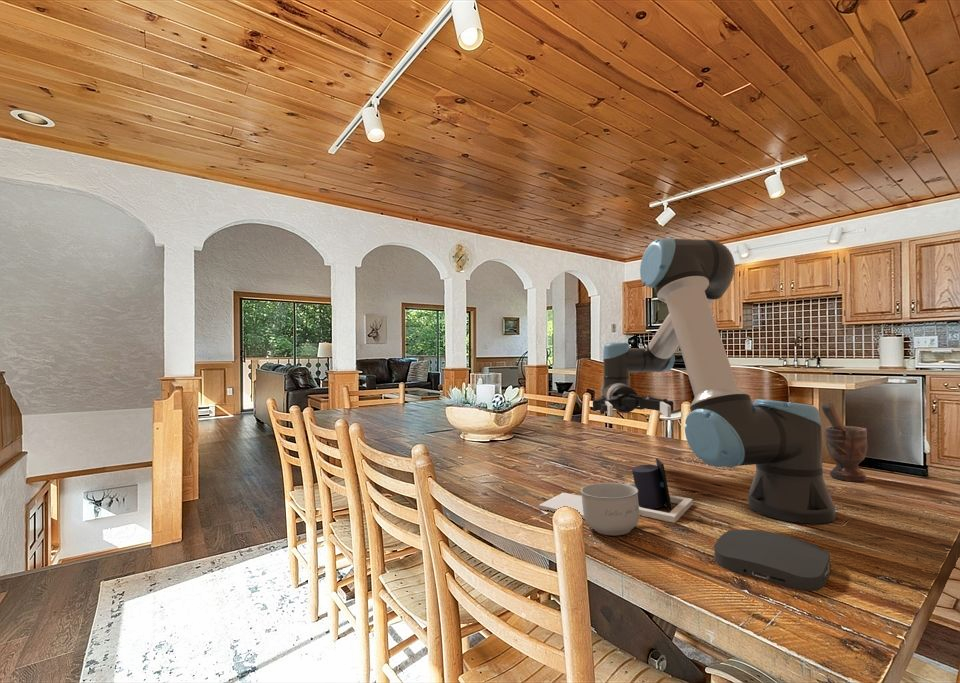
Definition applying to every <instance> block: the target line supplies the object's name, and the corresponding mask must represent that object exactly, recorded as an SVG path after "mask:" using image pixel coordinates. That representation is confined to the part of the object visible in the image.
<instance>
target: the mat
mask: <svg viewBox="0 0 960 683" xmlns="http://www.w3.org/2000/svg"><path fill="white" fill-rule="evenodd" d="M563 506H568V507H571V508H574V509H576V510H578V512H580V514H581V515H582V517H583V519H582V520H585V518H584V513H583V505H582V495H578V494H573V493H567V492H561V493H559V494H558V495H556V496H554V497H552V498H550V499H547V500H545V501H544V502H542V503H540V504H538V509H540V510H544V511H547V510H549V511H548V512H551V511H552V513H555V512H554V511H555V510H556V509H558V508H560V507H563ZM550 510H551V511H550Z"/></svg>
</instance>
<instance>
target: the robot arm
mask: <svg viewBox="0 0 960 683" xmlns="http://www.w3.org/2000/svg"><path fill="white" fill-rule="evenodd" d="M735 264H736V263H735V259H734V256H733V254H732V252H731V251H730V249H729V248H728V247H727V246H726V245H725V244H723V243H722V242H719V241H717V240H715V239H692V238H691V239H689V238H688V239H685V238H674V237H668V238H658V239H657V238H656V239H655V240H653V241H652V242H650V244H649V245H648V246H647V247H646V249H645V250H644V253H643V254H642V257H641V261H640V265H639V266H640V268H639V274H640V280H641V282H642V285H644V286H645V287H647V288H649V289H651V288H652V289H653V288H654V291H655V293H656V297H657V300H659V301H661V302H663V303H664V304H666V306H667V309H668V314H667V316H666V317H665V319H664V320H663V322H662V323H661V325H660V326H659V328H658V330H656V332H655V334H654V336H653V337H652V338H651V340H650V342H648V343H647V346H646V347H643V348H641V347H640V348H639V347H634V348H633V347H631V348H630V345H629V343H628V342H606V343H605V344H604V346H603V352H602V353H603V354H602V358H603V362H602V363H603V381H602V382H603V384H602V387H601V396H600V397H599V398H595V399H594V400H592V411H595V412H596V411H600V412H599V413H600V415H605V414H606V415H608V416H609V417H611V418H613V417H614V415H613V413H614V411H613V410H616V411H617V412H618V413H623V414H628V413H631V412H633V411H634V410H645V409H646V410H651V411H657V412H659V413H660V414H662V415H663V416H665V417H667V418H671V417H672V416H671V415H672V412H674V401H673V400H668V398H663V399H661V398H657V397H653V396H650V395H648V396H647V397H646V398H645V396H642V395H638V392H636V391H635V389H634V388H632V387H630V386H629V385H630V382H629V381H630V380H629V379H630V373H661V372H667V371H670V370H671V369H672V368H673V367H674V365H675V363H676V362H675V361H676V357H675V354H674V353H675V351H677V349H678V348H679V349H680V353H681V355H682V359H683V362H684V366H685V369H686V373H687V375H688V379H689V382H690V383H689V384H690V385H691V390H692V392H693V396H694V398H693V401H692V402H691V404H690V405H689V408H690V412H689V413H688V415H687V416H686V418H685V422H684V423H685V426H684V435H685V438H686V441H687V444H688V446H689V448H690V449H691V451H692V452H693V454H694V455H695V457H696V458H698V459H699V460H701V461H702V462H703V463H704V464H706V465H708V466H711V467H715V468H716V467H717V468H719V467H720V468H721V467H722V468H723V467H725V468H736V467H738V466H739V467H742V466H751V465H752V466H753V465H755V474H754V476H753V479H752V482H751V485H750V487H749V490H748V494H747V505H748V507H749V508H750V509H751V510H752V511H754V512H755V513H757V514H760V515H762V516H765V517H768V518H772V519H776V520H780V521H785V522H790V523H791V522H792V523H800V524H815V525H816V524H818V525H819V524H826V523H827V524H828V523H831V522H833V521H835V520H836V507H835V504H834V500H833V498H832V496H831V494H830V491H829V489H828V486H827V485H826V482H825V479H824V475H823V472H824V471H823V447H822V446H823V444H822V443H823V440H822V438H823V437H822V426H823V424H822V423H821V416H820V415H821V414H820V410H819V409H818V408H817V407H816V406H815V405H812V404H808V403H807V404H806V403H799V402H790V401H779V400H770V399H760V398H756V399H754V400H753V402H752V399H751V395H750V393H748V392H746V391H745V390H742V389H740V388H739V386H738V384H737V381H736V378H735V375H734V372H733V369H732V367H731V363H730V361H729V358H728V354H727V352H726V349H725V346H724V343H723V340H722V338H721V334H720V331H719V329H718V326H717V323H716V319H715V318H714V314H713V312H712V308H711V304H712V303H713V302H714V301H716V300H717V301H718V300H720V299H721V298H722V297H723V296H724V294H725V293H727V292H726V291H727V290H728V288H729V287H730V285H731V284H732V281H733V279H734V275H735V269H736V265H735Z"/></svg>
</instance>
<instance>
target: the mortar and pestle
mask: <svg viewBox="0 0 960 683" xmlns="http://www.w3.org/2000/svg"><path fill="white" fill-rule="evenodd" d="M821 410H822V412H823V414H824V416H825V417H826V419H827V420H828V422H829V423H830V425H828V426H827V425H826V426H825V427H824V440H825V446H826V450H827V453H828V455H829V456H830V457H831V458H832V459H833V461H835V463H836V464H835V466H834V467H833V469H832V470H831V471H830V474H829V476H831V477H833V478H834V479H836V480H840V481H844V482H845V481H846V482H854V483H855V482H857V483H858V482H859V483H860V482H866V481H867V475H866V473H865V472H864V471H862V470H861V468H859V464H860V463H861V462H863V461H864V460H865V458H866V455H867V452H868V430H867V427H859V426H852V425H849V426H848V425H843V424H842V421H841V419H840V418H841V417H840V415H839V412H838V409H837V407H836V405H835V404H834V403H831V402H826V403H824V404H822V406H821Z"/></svg>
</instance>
